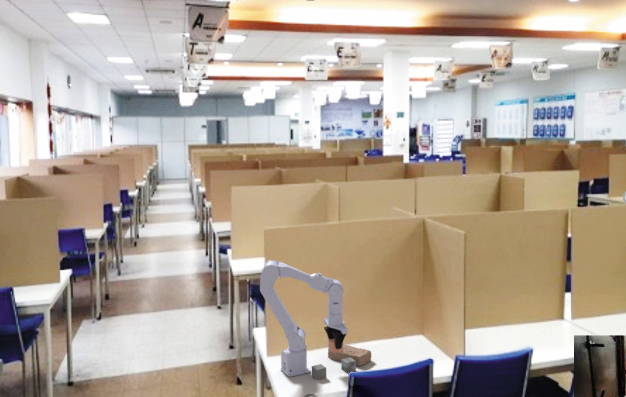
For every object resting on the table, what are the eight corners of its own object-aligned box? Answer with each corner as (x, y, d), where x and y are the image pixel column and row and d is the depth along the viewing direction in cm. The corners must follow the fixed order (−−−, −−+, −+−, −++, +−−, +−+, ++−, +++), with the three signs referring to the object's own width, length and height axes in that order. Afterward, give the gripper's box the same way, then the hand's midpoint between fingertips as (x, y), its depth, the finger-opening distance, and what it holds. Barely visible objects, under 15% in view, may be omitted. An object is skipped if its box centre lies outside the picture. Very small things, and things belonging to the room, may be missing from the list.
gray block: (316, 380, 207) (316, 369, 206) (311, 376, 210) (311, 366, 210) (326, 378, 209) (326, 367, 208) (321, 374, 212) (320, 364, 212)
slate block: (346, 373, 213) (346, 363, 212) (341, 369, 216) (341, 359, 216) (355, 371, 215) (355, 360, 214) (350, 367, 218) (350, 357, 218)
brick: (326, 358, 228) (326, 347, 228) (338, 352, 235) (338, 341, 234) (360, 368, 218) (360, 356, 217) (372, 361, 224) (372, 350, 224)
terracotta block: (333, 353, 212) (333, 342, 211) (328, 349, 215) (328, 339, 215) (342, 351, 214) (342, 341, 213) (337, 347, 217) (337, 337, 217)
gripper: (354, 315, 208) (354, 350, 210) (334, 305, 221) (335, 339, 223) (338, 318, 205) (338, 354, 206) (319, 308, 218) (319, 342, 219)
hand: (335, 346), depth 214 cm, fingers closed on terracotta block, 4 cm apart
